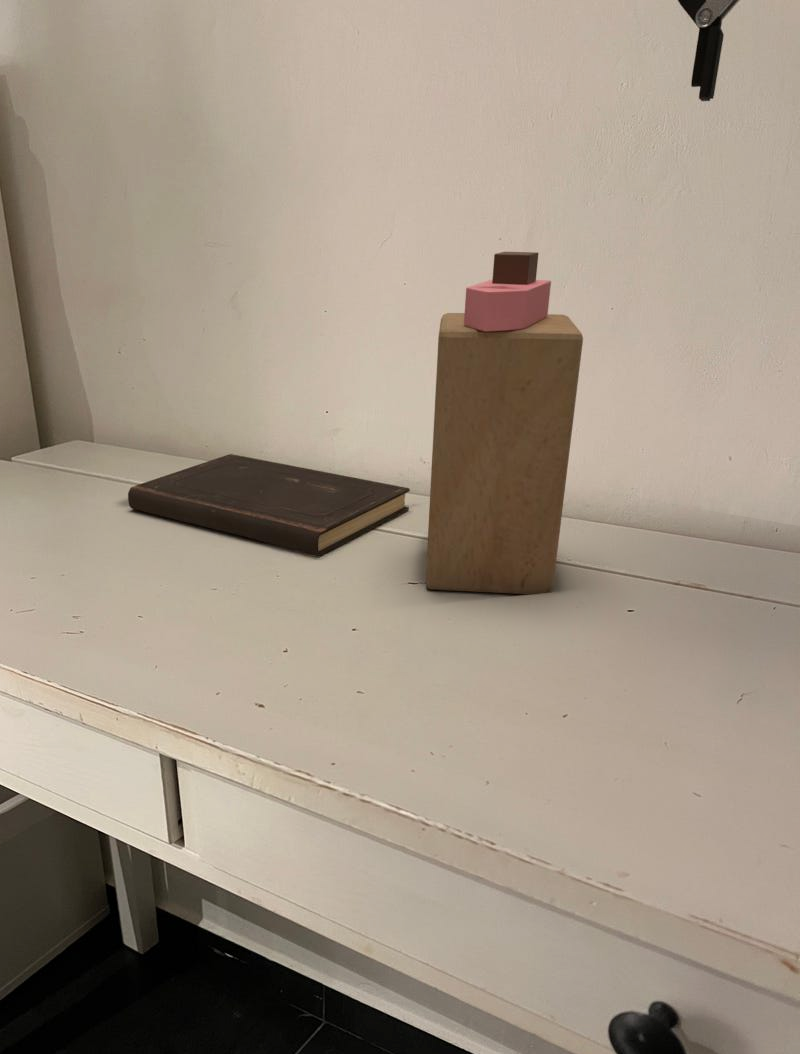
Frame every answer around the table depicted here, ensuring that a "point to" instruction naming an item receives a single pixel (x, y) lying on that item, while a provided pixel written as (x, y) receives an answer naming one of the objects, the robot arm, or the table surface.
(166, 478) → the hardcover book
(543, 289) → the pink and brown blocks
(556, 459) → the wooden block
